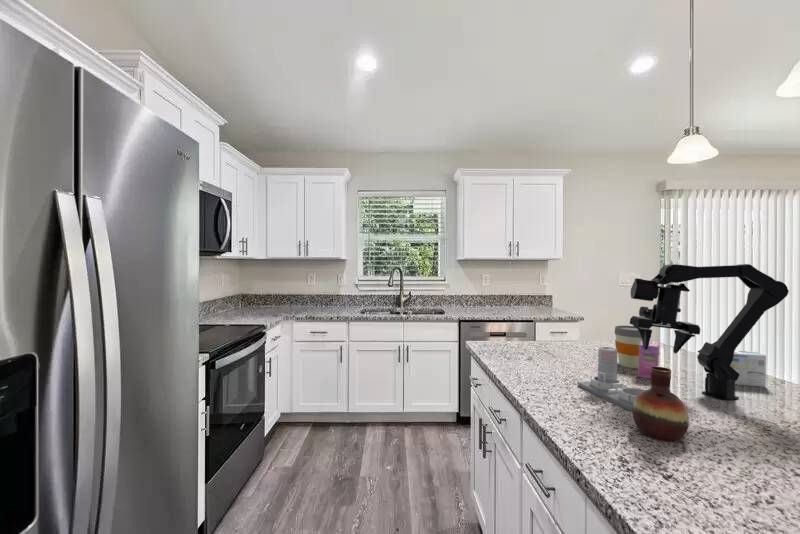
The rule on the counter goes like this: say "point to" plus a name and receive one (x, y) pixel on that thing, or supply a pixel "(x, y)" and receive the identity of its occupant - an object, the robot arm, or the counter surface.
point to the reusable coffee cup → (628, 345)
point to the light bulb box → (750, 368)
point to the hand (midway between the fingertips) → (660, 351)
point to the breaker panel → (612, 391)
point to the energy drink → (607, 365)
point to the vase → (660, 409)
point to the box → (648, 359)
